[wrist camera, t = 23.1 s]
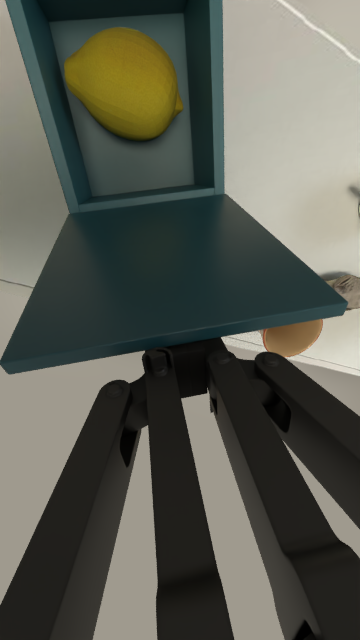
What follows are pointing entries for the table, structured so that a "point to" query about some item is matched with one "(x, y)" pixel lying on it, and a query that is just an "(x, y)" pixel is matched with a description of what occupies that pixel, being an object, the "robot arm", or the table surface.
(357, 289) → the decorative bird
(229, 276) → the lid
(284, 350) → the mug
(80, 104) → the teal box
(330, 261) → the table surface
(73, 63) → the lemon
